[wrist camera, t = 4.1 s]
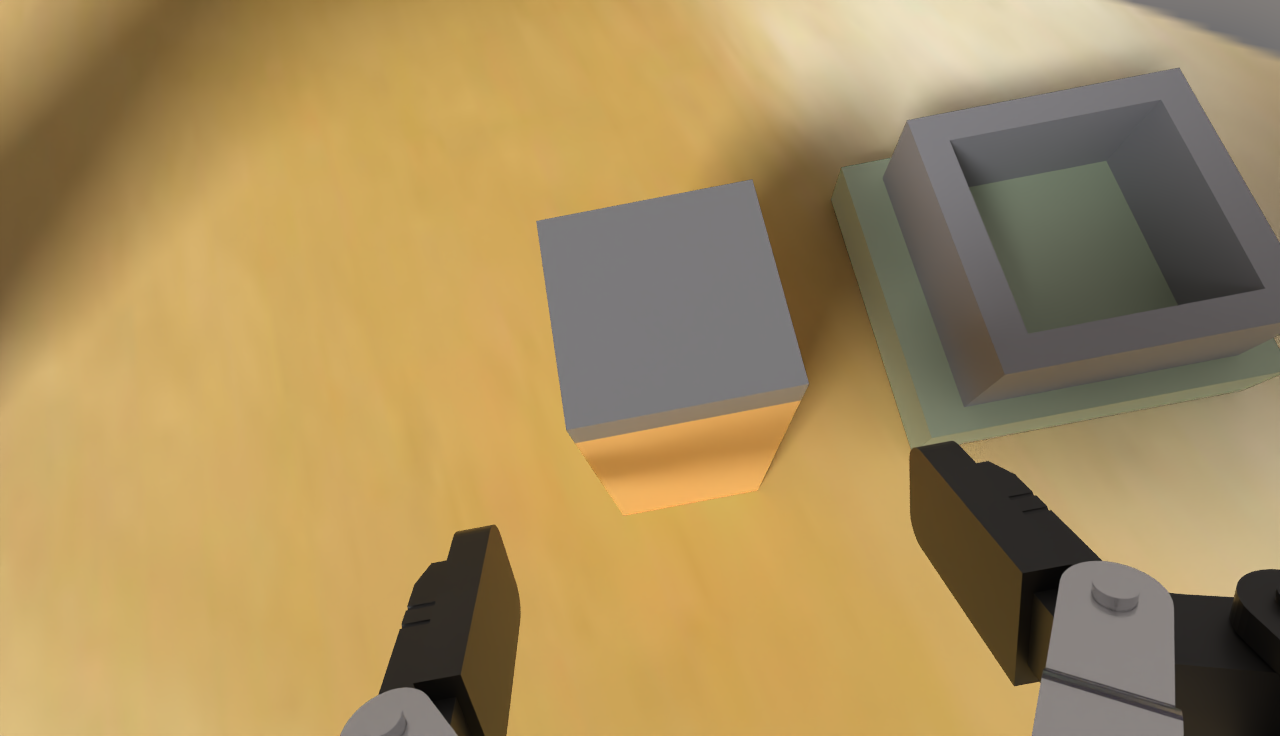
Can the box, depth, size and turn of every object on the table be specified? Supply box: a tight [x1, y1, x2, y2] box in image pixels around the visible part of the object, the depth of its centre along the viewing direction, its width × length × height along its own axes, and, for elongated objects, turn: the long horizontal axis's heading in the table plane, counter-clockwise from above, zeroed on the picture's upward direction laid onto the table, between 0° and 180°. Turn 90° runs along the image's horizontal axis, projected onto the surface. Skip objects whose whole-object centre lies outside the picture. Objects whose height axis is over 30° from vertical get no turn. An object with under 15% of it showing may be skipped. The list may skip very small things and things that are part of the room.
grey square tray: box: [831, 68, 1280, 450], centre depth 22 cm, size 11×10×5 cm
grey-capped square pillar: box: [536, 180, 809, 516], centre depth 19 cm, size 4×4×11 cm
